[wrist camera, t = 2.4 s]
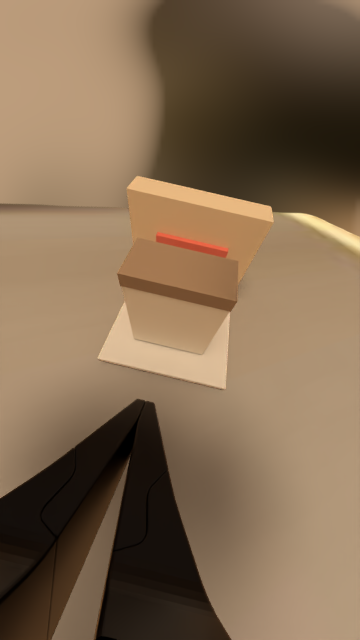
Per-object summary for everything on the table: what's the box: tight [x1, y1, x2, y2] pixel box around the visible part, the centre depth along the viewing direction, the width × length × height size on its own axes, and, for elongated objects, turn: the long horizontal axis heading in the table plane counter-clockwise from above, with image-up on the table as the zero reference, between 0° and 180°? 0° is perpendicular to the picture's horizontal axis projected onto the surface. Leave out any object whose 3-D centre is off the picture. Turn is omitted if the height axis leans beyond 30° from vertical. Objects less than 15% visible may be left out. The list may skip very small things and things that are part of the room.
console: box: [98, 176, 274, 390], centre depth 19 cm, size 16×14×12 cm
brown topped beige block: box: [117, 238, 239, 355], centre depth 17 cm, size 4×8×10 cm, turn 78°
